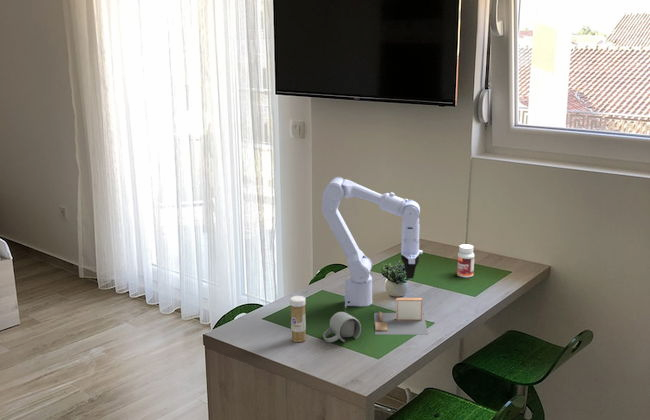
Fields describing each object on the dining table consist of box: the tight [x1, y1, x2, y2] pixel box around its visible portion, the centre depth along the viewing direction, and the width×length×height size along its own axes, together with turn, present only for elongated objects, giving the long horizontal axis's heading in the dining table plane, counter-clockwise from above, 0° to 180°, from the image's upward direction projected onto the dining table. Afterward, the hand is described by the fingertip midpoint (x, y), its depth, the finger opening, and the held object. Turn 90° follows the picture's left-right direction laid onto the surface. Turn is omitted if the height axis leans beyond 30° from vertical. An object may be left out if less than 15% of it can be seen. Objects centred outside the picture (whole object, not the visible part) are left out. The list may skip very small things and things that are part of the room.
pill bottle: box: [456, 243, 475, 278], centre depth 257 cm, size 6×6×11 cm
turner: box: [374, 311, 387, 331], centre depth 217 cm, size 4×12×1 cm, turn 177°
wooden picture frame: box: [395, 297, 423, 320], centre depth 218 cm, size 8×2×7 cm, turn 87°
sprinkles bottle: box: [289, 295, 307, 343], centre depth 207 cm, size 5×5×14 cm
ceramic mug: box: [322, 311, 362, 344], centre depth 208 cm, size 11×8×8 cm
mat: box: [373, 312, 429, 336], centre depth 217 cm, size 16×16×1 cm
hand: (409, 277), depth 228 cm, fingers closed
